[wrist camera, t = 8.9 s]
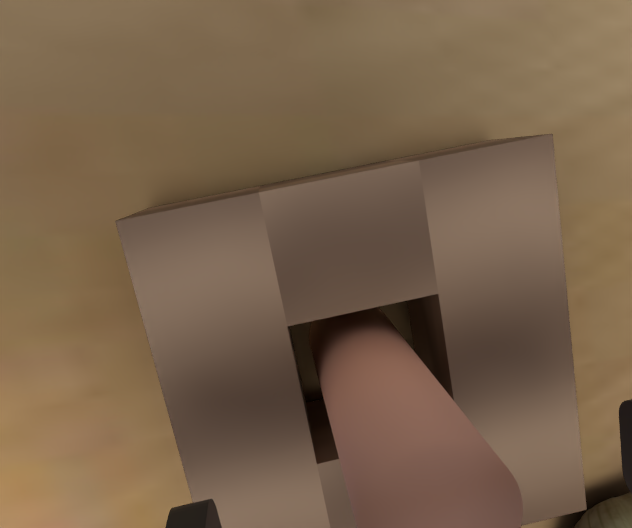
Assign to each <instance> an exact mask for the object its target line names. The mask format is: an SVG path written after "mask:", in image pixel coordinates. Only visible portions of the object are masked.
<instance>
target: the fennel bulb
mask: <svg viewBox="0 0 632 528" xmlns="http://www.w3.org/2000/svg"><path fill="white" fill-rule="evenodd" d="M574 528H632V494H631V492H629V493H627V494H624V495H620V496H619V497H612V498H609V499H607V500H605V501H603V502H600V503H598V504H597V505H594V507H593V508H591V509H589V510H587V511H586V513H585V514H584V515H583V516H582V517H581V519H580V520H579V521H578V522H577V524H576V525H575V527H574Z"/></svg>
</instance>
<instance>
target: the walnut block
mask: <svg viewBox="0 0 632 528" xmlns="http://www.w3.org/2000/svg"><path fill="white" fill-rule="evenodd" d="M115 222H116V225H117V229H118V233H119V236H120V240H121V244H122V247H123V251H124V254H125V258H126V262H127V265H128V269H129V272H130V276H131V280H132V283H133V287H134V291H135V294H136V298H137V301H138V305H139V309H140V312H141V316H142V320H143V323H144V327H145V330H146V334H147V338H148V341H149V345H150V349H151V352H152V356H153V359H154V363H155V367H156V370H157V374H158V378H159V381H160V385H161V388H162V392H163V396H164V399H165V403H166V406H167V410H168V414H169V417H170V421H171V425H172V428H173V432H174V435H175V439H176V443H177V446H178V450H179V454H180V457H181V461H182V464H183V468H184V472H185V475H186V479H187V483H188V486H189V490H190V493H191V497H192V501H193V503H195V502H199V501H203V500H208V499H213V501H214V503H215V505H216V508H217V512H218V515H219V519H220V523H221V526H222V528H357V526H356V523H355V519H354V515H353V511H352V507H351V503H350V499H349V495H348V491H347V487H346V484H345V480H344V476H343V472H342V468H341V464H340V460H339V456H338V452H337V448H336V444H335V441H334V437H333V433H332V429H331V425H330V421H329V417H328V413H327V409H326V405H325V402H324V399H321V400H317V401H312V402H308V403H306V401H305V396H304V391H303V387H302V382H301V377H300V372H299V368H298V363H297V358H296V354H295V349H294V344H293V340H292V335H291V330H290V326H292V325H296V324H301V323H306V322H310V321H315V320H319V319H324V318H329V317H333V316H338V315H343V314H347V313H352V312H356V311H361V310H366V309H370V308H375V307H380V306H384V305H389V304H393V303H398V302H403V301H407V303H408V310H409V316H410V322H411V328H412V335H413V341H414V347H415V353H416V354H417V355H418V357H419V358H420V359H421V360H422V362H423V363H424V364H425V365H426V367H427V368H428V369H429V370H430V372H431V373H432V374H433V375H434V377H435V378H436V379H437V380H438V382H439V383H440V384H441V385H442V387H443V388H444V389H445V390H446V392H447V393H448V394H449V395H450V397H451V398H452V399H453V400H454V402H455V403H456V404H457V405H458V407H459V408H460V409H461V410H462V412H463V413H464V414H465V415H466V417H467V418H468V419H469V420H470V422H471V423H472V424H473V425H474V427H475V428H476V429H477V430H478V432H479V433H480V434H481V435H482V437H483V438H484V439H485V440H486V442H487V443H488V444H489V445H490V447H491V448H492V449H493V450H494V452H495V453H496V454H497V455H498V457H499V458H500V459H501V460H502V462H503V463H504V464H505V465H506V467H507V468H508V469H509V471H510V472H511V473H512V475H513V476H514V478H515V480H516V482H517V483H518V486H519V489H520V492H521V496H522V501H523V516H522V523H521V526H522V525H526V524H530V523H534V522H538V521H543V520H547V519H551V518H555V517H559V516H563V515H567V514H571V513H575V512H579V511H583V510H587V508H586V497H585V486H584V475H583V464H582V453H581V442H580V431H579V420H578V409H577V398H576V387H575V376H574V365H573V354H572V343H571V332H570V322H569V311H568V300H567V289H566V278H565V267H564V256H563V245H562V234H561V223H560V212H559V201H558V190H557V179H556V168H555V157H554V146H553V135H552V134H546V135H536V136H526V137H516V138H507V139H497V140H488V141H483V142H478V143H473V144H468V145H463V146H458V147H453V148H448V149H443V150H438V151H433V152H428V153H423V154H418V155H413V156H408V157H403V158H398V159H393V160H388V161H383V162H378V163H373V164H367V165H362V166H357V167H352V168H347V169H342V170H337V171H332V172H327V173H322V174H317V175H312V176H307V177H302V178H297V179H292V180H287V181H282V182H277V183H272V184H267V185H262V186H257V187H252V188H247V189H242V190H237V191H232V192H227V193H222V194H217V195H212V196H207V197H201V198H196V199H191V200H186V201H181V202H176V203H171V204H166V205H161V206H156V207H151V208H147V209H145V210H142V211H140V212H137V213H135V214H132V215H130V216H127V217H124V218H122V219H119V220H117V221H115Z"/></svg>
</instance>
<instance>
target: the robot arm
mask: <svg viewBox="0 0 632 528" xmlns="http://www.w3.org/2000/svg"><path fill="white" fill-rule="evenodd" d="M619 423H620V439H621V455H622V470H623V475H624V479H625V482H626V484H627V487H628V489H629V491H630V492H631V494H632V399H631V400H627V401H624V402H622V404H621V405H620V408H619ZM166 528H222V526H221V523H220V519H219V515H218V512H217V508H216V505H215V503H214V501H213V499H208V500H203V501H199V502H195V503H191V504H187V505H182V506H178V507H174V508H172V509H171V510H170V512H169V516H168V520H167V524H166Z"/></svg>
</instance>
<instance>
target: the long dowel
mask: <svg viewBox="0 0 632 528" xmlns="http://www.w3.org/2000/svg"><path fill="white" fill-rule="evenodd" d="M309 341H310V347H311V351H312V355H313V359H314V362H315V366H316V370H317V374H318V378H319V382H320V386H321V390H322V394H323V398H324V402H325V405H326V409H327V413H328V417H329V421H330V425H331V429H332V433H333V437H334V441H335V444H336V448H337V452H338V456H339V460H340V464H341V468H342V472H343V476H344V480H345V484H346V487H347V491H348V495H349V499H350V503H351V507H352V511H353V515H354V519H355V523H356V526H357V528H521V523H522V516H523V501H522V496H521V492H520V489H519V486H518V483H517V482H516V480H515V478H514V476H513V475H512V473H511V472H510V471H509V469H508V468H507V467H506V465H505V464H504V463H503V462H502V460H501V459H500V458H499V457H498V455H497V454H496V453H495V452H494V450H493V449H492V448H491V447H490V445H489V444H488V443H487V442H486V440H485V439H484V438H483V437H482V435H481V434H480V433H479V432H478V430H477V429H476V428H475V427H474V425H473V424H472V423H471V422H470V420H469V419H468V418H467V417H466V415H465V414H464V413H463V412H462V410H461V409H460V408H459V407H458V405H457V404H456V403H455V402H454V400H453V399H452V398H451V397H450V395H449V394H448V393H447V392H446V390H445V389H444V388H443V387H442V385H441V384H440V383H439V382H438V380H437V379H436V378H435V377H434V375H433V374H432V373H431V372H430V370H429V369H428V368H427V367H426V365H425V364H424V363H423V362H422V360H421V359H420V358H419V357H418V355H417V354H416V353H415V352H414V350H413V349H412V348H411V347H410V345H409V344H408V343H407V342H406V340H405V339H404V338H403V337H402V335H401V334H400V333H399V332H398V330H397V329H396V328H395V327H394V325H393V324H392V323H391V322H390V320H389V319H388V318H387V317H386V315H385V314H384V313H383V312H382V310H381V309H380V308H379V307H375V308H370V309H366V310H361V311H356V312H352V313H347V314H343V315H338V316H333V317H329V318H324V319H319V320H315V321H313V322H312V324H311V328H310V333H309Z"/></svg>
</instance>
